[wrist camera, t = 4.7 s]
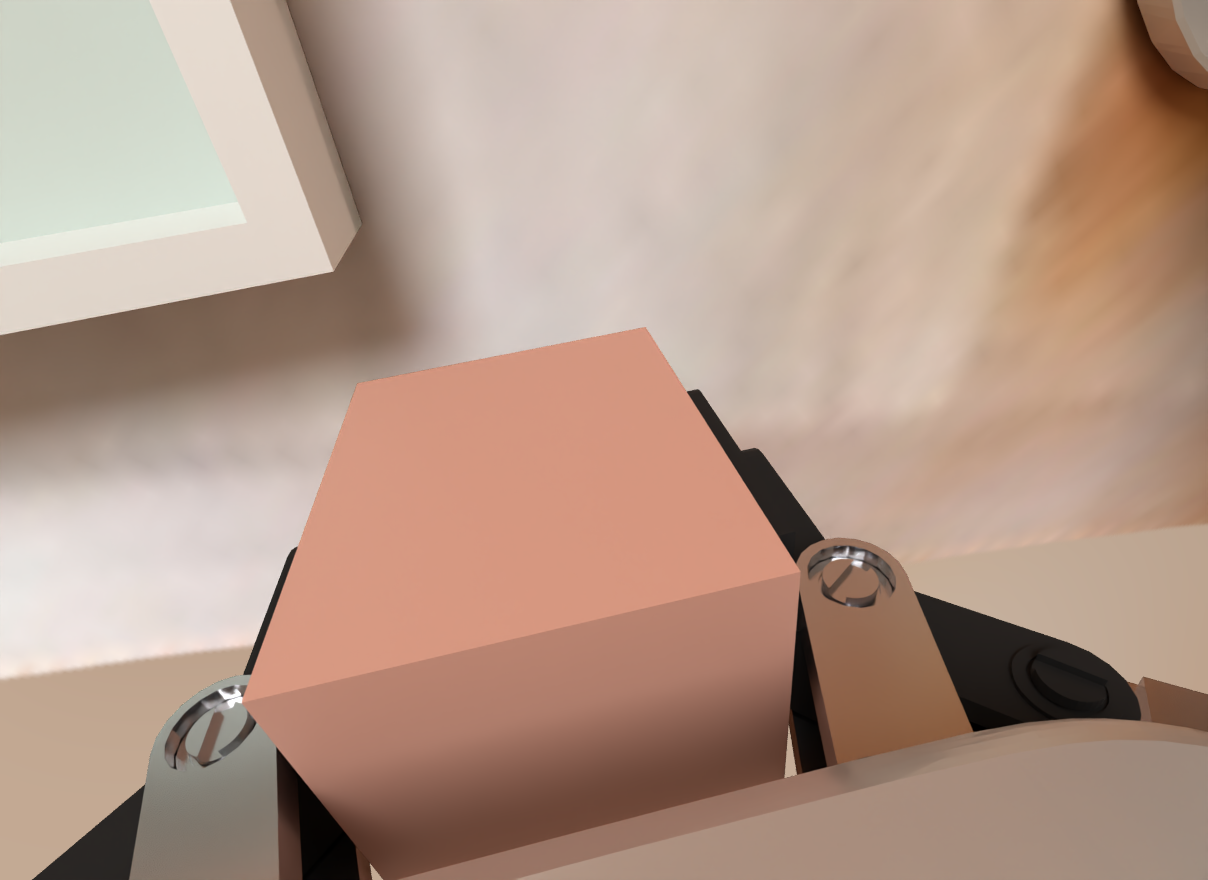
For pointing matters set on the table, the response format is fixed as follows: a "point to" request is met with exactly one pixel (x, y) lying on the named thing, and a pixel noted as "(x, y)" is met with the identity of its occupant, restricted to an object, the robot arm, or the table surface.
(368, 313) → the table surface
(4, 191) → the tray
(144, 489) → the table surface
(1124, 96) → the table surface
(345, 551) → the pink block
